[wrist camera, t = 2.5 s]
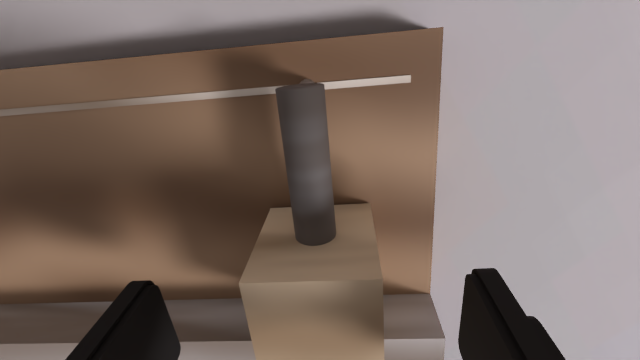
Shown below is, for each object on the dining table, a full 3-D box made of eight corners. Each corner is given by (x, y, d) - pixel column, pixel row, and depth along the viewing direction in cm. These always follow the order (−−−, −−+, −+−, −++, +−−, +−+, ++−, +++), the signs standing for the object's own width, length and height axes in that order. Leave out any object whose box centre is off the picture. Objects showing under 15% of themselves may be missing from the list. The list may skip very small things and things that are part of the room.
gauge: (373, 291, 15) (384, 389, 11) (284, 293, 15) (262, 389, 11) (365, 73, 11) (379, 94, 7) (250, 83, 12) (198, 108, 7)
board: (420, 287, 17) (443, 360, 13) (-23, 298, 19) (-115, 364, 15) (429, 28, 12) (469, 23, 8) (-155, 85, 15) (-335, 102, 11)
